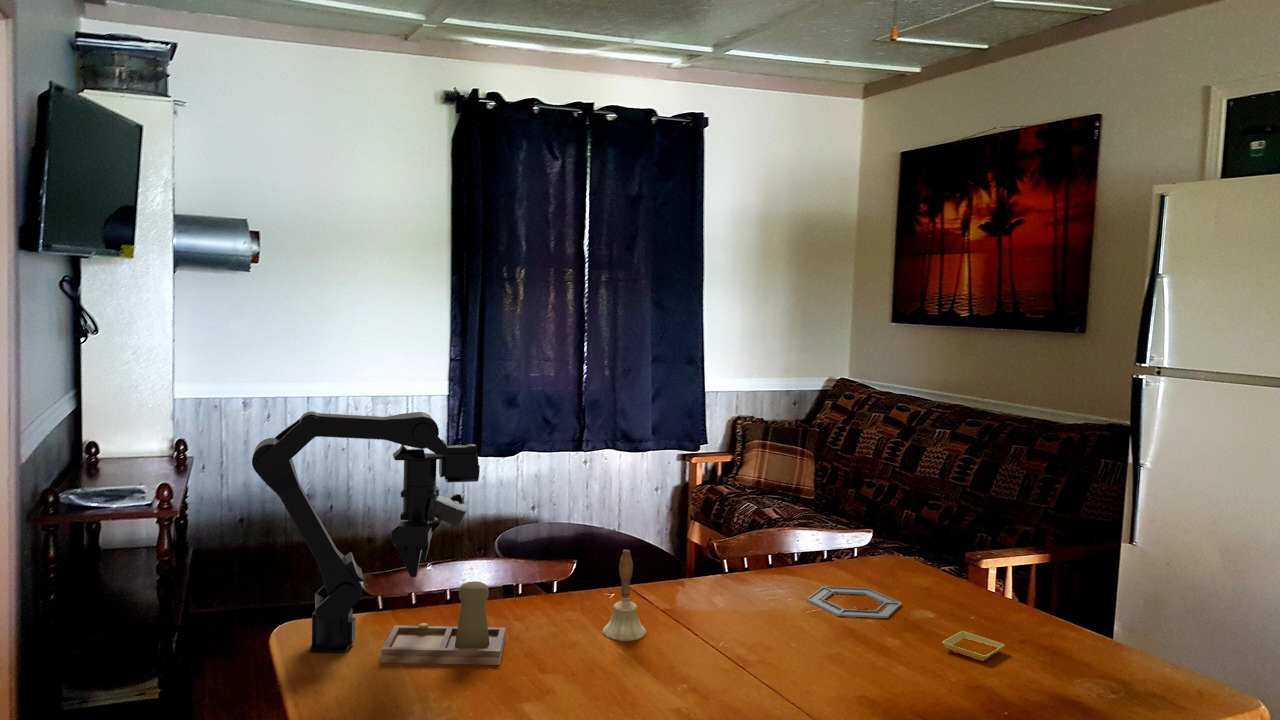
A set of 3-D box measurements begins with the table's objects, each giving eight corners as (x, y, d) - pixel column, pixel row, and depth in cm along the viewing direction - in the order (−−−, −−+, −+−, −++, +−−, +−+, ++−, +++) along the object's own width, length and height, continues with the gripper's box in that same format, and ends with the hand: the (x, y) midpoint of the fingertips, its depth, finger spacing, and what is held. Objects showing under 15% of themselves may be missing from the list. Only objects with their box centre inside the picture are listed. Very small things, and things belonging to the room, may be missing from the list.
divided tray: (380, 662, 161) (381, 647, 161) (395, 636, 173) (395, 622, 173) (499, 664, 162) (499, 650, 162) (505, 638, 174) (505, 624, 174)
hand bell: (628, 644, 174) (631, 559, 172) (593, 633, 179) (596, 550, 177) (655, 632, 180) (658, 550, 179) (620, 621, 185) (623, 541, 184)
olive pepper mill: (486, 651, 165) (488, 589, 164) (451, 650, 165) (453, 588, 164) (492, 638, 171) (493, 578, 170) (458, 637, 171) (459, 577, 170)
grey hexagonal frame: (911, 621, 193) (912, 617, 193) (813, 616, 193) (813, 612, 193) (891, 593, 210) (891, 589, 210) (800, 589, 211) (800, 585, 210)
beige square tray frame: (1005, 654, 178) (1006, 643, 177) (985, 667, 171) (986, 655, 171) (961, 641, 184) (962, 630, 183) (940, 652, 177) (941, 641, 177)
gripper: (458, 496, 161) (455, 586, 162) (471, 474, 180) (469, 554, 181) (391, 494, 160) (389, 585, 162) (411, 472, 179) (410, 553, 180)
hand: (418, 568), depth 171 cm, fingers open, 9 cm apart
